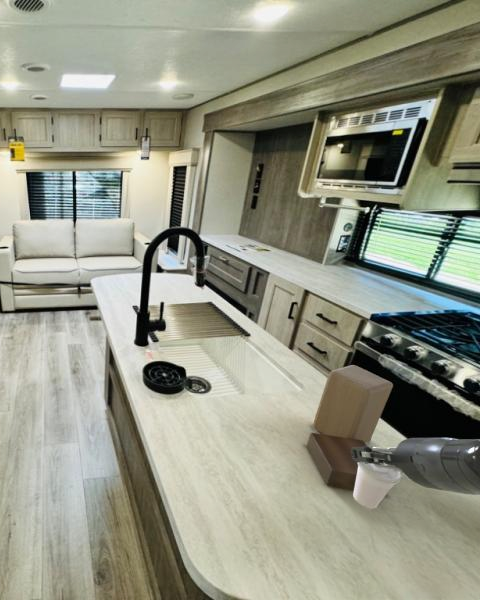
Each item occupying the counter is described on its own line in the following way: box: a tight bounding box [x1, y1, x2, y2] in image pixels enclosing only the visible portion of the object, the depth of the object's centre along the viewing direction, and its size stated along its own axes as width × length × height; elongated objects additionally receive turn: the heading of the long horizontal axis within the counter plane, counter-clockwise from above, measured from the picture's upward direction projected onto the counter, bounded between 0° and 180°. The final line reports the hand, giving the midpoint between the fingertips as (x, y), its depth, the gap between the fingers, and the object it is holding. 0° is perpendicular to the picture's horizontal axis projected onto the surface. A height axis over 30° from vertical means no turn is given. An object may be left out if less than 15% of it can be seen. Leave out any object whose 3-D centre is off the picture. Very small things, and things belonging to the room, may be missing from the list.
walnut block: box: [306, 432, 387, 497], centre depth 78 cm, size 12×12×5 cm
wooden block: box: [312, 364, 394, 444], centre depth 86 cm, size 10×10×20 cm
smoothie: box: [352, 462, 402, 510], centre depth 63 cm, size 6×6×14 cm
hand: (374, 458), depth 63 cm, fingers closed on smoothie, 6 cm apart
